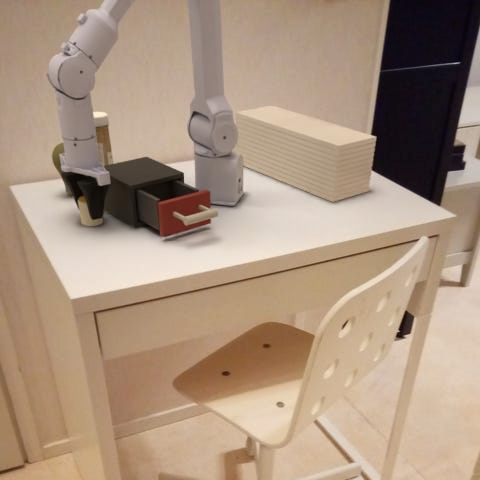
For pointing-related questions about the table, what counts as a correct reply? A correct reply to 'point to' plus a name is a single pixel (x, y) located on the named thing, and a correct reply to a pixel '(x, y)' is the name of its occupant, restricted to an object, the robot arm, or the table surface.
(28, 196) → the table surface
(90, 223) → the beige cylinder
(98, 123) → the spice jar
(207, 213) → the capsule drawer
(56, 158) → the light bulb
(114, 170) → the black drawer box
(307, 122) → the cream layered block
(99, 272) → the table surface
